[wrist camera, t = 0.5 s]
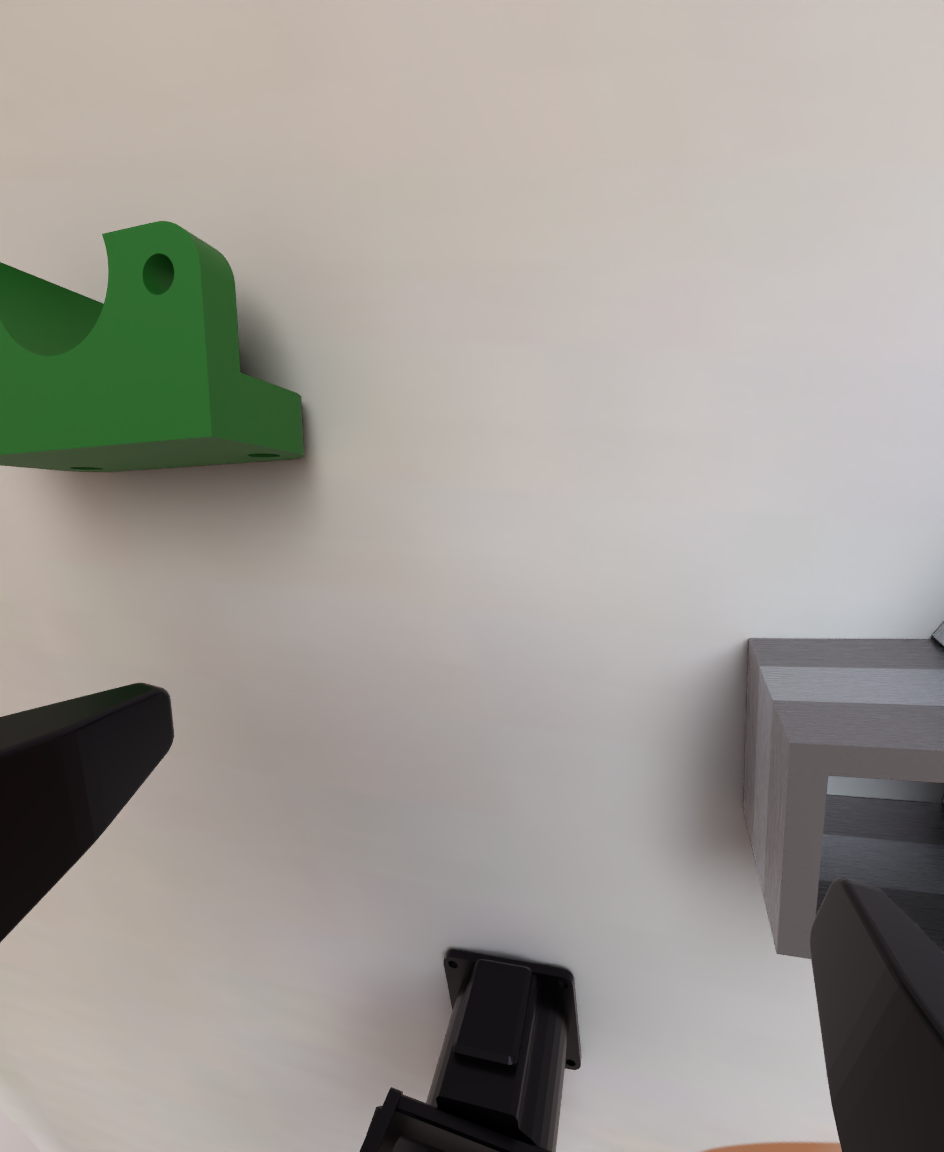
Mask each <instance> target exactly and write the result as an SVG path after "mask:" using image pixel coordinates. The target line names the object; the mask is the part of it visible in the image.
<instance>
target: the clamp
mask: <svg viewBox="0 0 944 1152" xmlns="http://www.w3.org/2000/svg"><path fill="white" fill-rule="evenodd" d="M102 235H103V238H104V241H105V245H106V250H107V256H108V267H109V275H108V288H107V293H106V298H105V302H104V304H103V303H100V302H98V301H95V300H93V299H90V298H88V297H85V296H83V295H80V294H78V293H75V292H73V291H70V290H68V289H65V288H63V287H60V286H58V285H55V284H53V283H51V282H48V281H46V280H43V279H41V278H38V277H36V276H33V275H31V274H28V273H26V272H23V271H21V270H18V269H16V268H13V267H11V266H8V265H6V264H3V263H1V262H0V465H3V466H15V467H27V468H38V469H50V470H62V471H79V472H114V471H129V470H143V469H158V468H172V467H186V466H201V465H215V464H229V463H244V462H258V461H272V460H287V459H297V458H301V457H304V441H303V423H302V404H301V396H300V395H299V394H297V393H295V392H292V391H289V390H287V389H284V388H281V387H279V386H276V385H273V384H270V383H268V382H265V381H262V380H260V379H257V378H254V377H251V376H249V375H246V374H243V373H241V372H240V357H239V341H238V325H237V309H236V294H235V281H234V276H233V273H232V270H231V267H230V265H229V263H228V262H227V260H226V258H225V257H224V256H223V255H222V254H221V253H220V252H219V251H218V250H216V249H215V248H213V247H211V246H210V245H208V244H207V243H205V242H204V241H202V240H200V239H199V238H197V237H196V236H194V235H193V234H191V233H189V232H188V231H186V230H185V229H183V228H182V227H180V226H178V225H177V224H174V223H171V222H167V221H159V222H153V223H149V224H145V225H140V226H136V227H131V228H127V229H122V230H118V231H114V232H109V233H105V234H102Z"/></svg>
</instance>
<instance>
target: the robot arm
mask: <svg viewBox="0 0 944 1152" xmlns="http://www.w3.org/2000/svg"><path fill="white" fill-rule="evenodd" d="M173 738H174V729H173V719H172V709H171V699H170V695H169V694H168V692H167V691H166V690H165V689H163V688H161V687H157V686H153V685H150V684H146V683H135V684H131V685H127V686H123V687H119V688H115V689H111V690H107V691H103V692H99V693H95V694H91V695H87V696H83V697H79V698H75V699H71V700H67V701H63V702H59V703H55V704H51V705H47V706H43V707H39V708H35V709H31V710H27V711H23V712H19V713H15V714H11V715H7V716H3V717H0V942H1V941H2V940H3V939H4V938H5V937H6V936H7V935H8V934H9V933H10V932H11V931H12V930H13V929H14V928H15V926H16V925H17V924H18V923H19V922H20V921H21V920H22V919H23V918H24V917H25V916H26V915H27V914H28V913H29V912H30V911H31V910H32V909H33V907H34V906H35V905H36V904H37V903H38V902H39V901H40V900H41V899H42V898H43V897H44V896H45V895H46V894H47V893H48V892H49V891H50V890H51V889H52V887H53V886H54V885H55V884H56V883H57V882H58V881H59V880H60V879H61V878H62V877H63V876H64V875H65V874H66V873H67V872H68V871H69V870H70V868H71V867H72V866H73V865H74V864H75V863H76V862H77V861H78V860H79V859H80V858H81V857H82V856H83V855H84V854H85V852H86V851H87V850H88V849H89V848H90V847H91V846H92V845H93V844H94V843H95V841H96V840H97V839H98V838H99V837H100V836H101V834H102V833H103V832H104V831H105V830H106V828H107V827H108V826H109V825H110V824H111V822H112V821H113V820H114V819H115V817H116V816H117V815H118V814H119V812H120V811H121V810H122V809H123V807H124V806H125V805H126V804H127V802H128V801H129V800H130V799H131V797H132V796H133V795H134V794H135V792H136V791H137V790H138V789H139V787H140V786H141V785H142V784H143V782H144V781H145V780H146V779H147V777H148V776H149V775H150V774H151V772H152V771H153V770H154V769H155V767H156V766H157V765H158V764H159V762H160V761H161V760H162V759H163V757H164V756H165V755H166V754H167V752H168V751H169V749H170V747H171V745H172V742H173ZM810 952H811V960H812V967H813V974H814V982H815V989H816V997H817V1004H818V1011H819V1019H820V1026H821V1033H822V1041H823V1048H824V1056H825V1063H826V1070H827V1077H828V1084H829V1090H830V1096H831V1103H832V1107H833V1112H834V1117H835V1122H836V1126H837V1131H838V1136H839V1140H840V1144H841V1148H842V1152H944V951H943V950H942V949H941V948H940V947H939V946H938V945H937V944H936V943H935V942H934V941H933V940H932V939H931V938H930V937H929V936H928V935H927V934H926V933H925V932H924V931H923V930H922V929H921V928H920V927H919V926H918V925H917V924H916V923H915V922H914V921H913V920H912V919H911V918H910V917H909V916H908V915H907V914H906V913H905V912H904V911H903V910H902V909H901V908H900V907H899V906H898V905H897V904H896V903H895V902H894V901H893V900H892V899H891V898H890V897H889V896H888V895H887V894H885V893H884V892H883V891H882V890H881V889H879V888H878V887H875V886H873V885H870V884H866V883H863V882H859V881H855V880H852V879H848V878H844V877H840V878H836V879H835V880H834V881H833V882H832V883H831V885H830V887H829V889H828V891H827V893H826V895H825V898H824V900H823V902H822V904H821V906H820V909H819V911H818V913H817V915H816V917H815V920H814V922H813V924H812V927H811V932H810ZM444 967H445V973H446V978H447V983H448V988H449V994H450V999H451V1004H452V1009H453V1012H452V1016H451V1019H450V1022H449V1026H448V1029H447V1033H446V1036H445V1040H444V1043H443V1046H442V1050H441V1053H440V1057H439V1060H438V1064H437V1067H436V1071H435V1074H434V1077H433V1081H432V1084H431V1088H430V1091H429V1095H428V1098H427V1101H426V1103H424V1102H421V1101H418V1100H416V1099H413V1098H410V1097H408V1096H405V1095H403V1092H402V1091H400V1090H397V1089H395V1088H392V1087H391V1088H390V1090H389V1092H388V1095H387V1097H386V1099H385V1102H384V1104H383V1106H380V1107H376V1110H375V1112H374V1115H373V1118H372V1121H371V1124H370V1127H369V1129H368V1132H367V1135H366V1138H365V1140H364V1143H363V1145H362V1147H361V1149H360V1152H556V1144H557V1135H558V1125H559V1116H560V1107H561V1098H562V1088H563V1079H564V1070H565V1068H567V1069H572V1070H576V1069H579V1068H580V1065H581V1047H580V1036H579V1026H578V1015H577V1004H576V993H575V983H574V977H573V975H572V974H571V972H569V971H567V970H565V969H560V968H555V967H549V966H543V965H538V964H532V963H526V962H520V961H515V960H509V959H503V958H498V957H492V956H486V955H481V954H475V953H469V952H464V951H458V950H449V951H447V952H446V955H445V958H444Z"/></svg>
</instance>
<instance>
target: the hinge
mask: <svg viewBox="0 0 944 1152" xmlns="http://www.w3.org/2000/svg"><path fill="white" fill-rule="evenodd" d="M932 636H934V637H935V638H936V639H748V670H747V701H746V733H745V764H744V795H743V810H744V814H745V818H746V823H747V827H748V831H749V836H750V840H751V844H752V849H753V853H754V857H755V862H756V866H757V870H758V875H759V879H760V883H761V887H762V892H763V896H764V900H765V905H766V909H767V913H768V918H769V922H770V926H771V931H772V935H773V939H774V944H775V948H776V952H777V954H782V955H788V956H795V957H802V958H808V959H811V952H810V932H811V927H812V924H813V922H814V920H815V917H816V915H817V913H818V911H819V909H820V906H821V904H822V902H823V900H824V898H825V895H826V893H827V891H828V889H829V887H830V885H831V883H832V882H833V881H834V880H835V879H836V878H840V877H844V878H848V879H852V880H855V881H859V882H863V883H866V884H870V885H873V886H875V887H878V888H879V889H881V890H882V891H883V892H884V893H885V894H887V895H888V896H889V897H890V898H891V899H892V900H893V901H894V902H895V903H896V904H897V905H898V906H899V907H900V908H901V909H902V910H903V911H904V912H905V913H906V914H907V915H908V916H909V917H910V918H911V919H912V920H913V921H914V922H915V923H916V924H917V925H918V926H919V927H920V928H921V929H922V930H923V931H924V932H925V933H926V934H927V935H928V936H929V937H930V938H931V939H932V940H933V941H934V942H935V943H936V944H937V945H938V946H939V947H940V948H941V949H942V950H943V951H944V796H943V802H942V804H938V803H925V802H912V801H899V800H886V799H872V798H859V797H846V796H833V795H826V793H827V782H828V775H830V776H845V777H860V778H875V779H890V780H905V781H920V782H935V783H944V623H943V624H942V625H941V626H940V627H939V628H938V629H937V630H936V631H935V633H934V634H933V635H932Z"/></svg>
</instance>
